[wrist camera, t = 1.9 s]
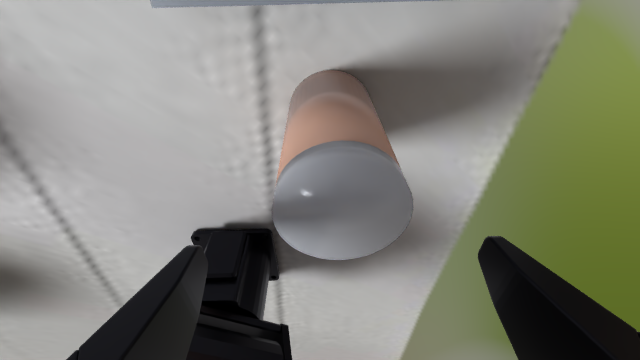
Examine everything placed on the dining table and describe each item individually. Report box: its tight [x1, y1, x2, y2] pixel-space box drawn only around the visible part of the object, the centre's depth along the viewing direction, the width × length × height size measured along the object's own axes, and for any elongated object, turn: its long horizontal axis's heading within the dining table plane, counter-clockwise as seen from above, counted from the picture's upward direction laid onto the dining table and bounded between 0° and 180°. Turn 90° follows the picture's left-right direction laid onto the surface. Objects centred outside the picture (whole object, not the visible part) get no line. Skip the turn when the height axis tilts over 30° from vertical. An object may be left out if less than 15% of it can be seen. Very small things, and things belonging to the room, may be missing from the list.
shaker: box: [272, 70, 413, 260], centre depth 14 cm, size 5×5×9 cm
